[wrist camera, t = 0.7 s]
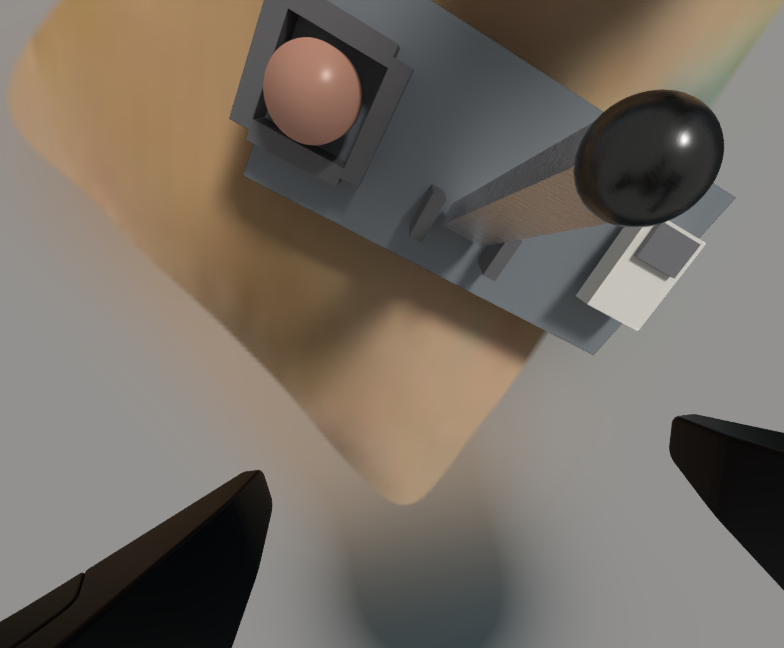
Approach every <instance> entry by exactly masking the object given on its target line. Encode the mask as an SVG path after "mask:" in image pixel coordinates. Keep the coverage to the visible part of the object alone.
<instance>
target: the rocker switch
mask: <svg viewBox="0 0 784 648" xmlns="http://www.w3.org/2000/svg"><path fill="white" fill-rule="evenodd" d="M705 244H706V243H705V242H703V241H702V240H700V239H698V238H697V237H695V236H693V235H692V234H690V233H688V232H687V231H685V230H684V229H682V228H680V227H679V226H677V225H675V224H674V223H672V222H670V221H667V222H664V223H661V224H658V225H654V226H650V227H642V228H628V227H624V228H623V229H622V230H621V232H620V233H619V235H618V236H617V238H616V239H615V240H614V242H613V243H612V245H611V246H610V248H609V249H608V250H607V252H606V253H605V255H604V256H603V257H602V259H601V260H600V262H599V263H598V265H597V266H596V267H595V269H594V270H593V272H592V273H591V275H590V276H589V277H588V279H587V280H586V282H585V283H584V285H583V286H582V287H581V289H580V290H579V292H578V293H577V295H576V297H578V298H579V299H581V300H582V301H583V302H585V303H586V304H588V305H590V306H592V307H593V308H595V309H597V310H599V311H601V312H603V313H604V314H606V315H608V316H610V317H612V318H614V319H616V320H617V321H619V322H621V323H623V324H625V325H627V326H629V327H630V328H632V329H634V330H636V331H638V330H639V329H640V328H641V327H642V325H643V324H644V323H645V321H646V320H647V319H648V318H649V316H650V315H651V314H652V313H653V311H654V310H655V309H656V307H657V306H658V305H659V304H660V302H661V301H662V300H663V299H664V297H665V296H666V295H667V293H668V292H669V291H670V289H671V288H672V287H673V285H674V284H675V283H676V282H677V281H678V279H679V278H680V277H681V275H682V274H683V273H684V272H685V270H686V269H687V268H688V266H689V265H690V264H691V263H692V261H693V260H694V258H695V257H696V256H697V255H698V254H699V252H700V251H701V250H702V248H703V247H704V246H705Z"/></svg>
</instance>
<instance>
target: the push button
mask: <svg viewBox="0 0 784 648" xmlns="http://www.w3.org/2000/svg"><path fill="white" fill-rule="evenodd" d="M263 92H264V99H265V103H266V106H267V109H268V112H269V114H270V116H271V118H272V119H273V121H274V123H275V124H276V125H277V126H278V128H279V129H280V130H281V131H282V132H283V133H284V134H286V135H287V136H288V137H290V138H291V139H293V140H295V141H297V142H299V143H302V144H306V145H323V144H327V143H329V142H332V141H334V140H336V139H338V138H340V137H341V136H343V135H344V134H346V133H347V132H348V131H349V130H350V129H351V128H352V127H353V125H354V124H355V123H356V121H357V119H358V117H359V114H360V111H361V107H362V100H363V92H362V85H361V81H360V78H359V75H358V72H357V70H356V68H355V67H354V65H353V64H352V62H351V61H350V60H349V59H348V57H347V56H346V55H344V54H343V53H342V52H341V51H339V50H338V49H336V48H335V47H333V46H332V45H330V44H328V43H326V42H324V41H322V40H319V39H316V38H311V37H302V38H296V39H293V40H290V41H288V42H286V43H285V44H283V45H282V46H280V47H279V48H278V49H277V50H276V51H275V53H274V54H273V55H272V57H271V58H270V60H269V62H268V64H267V67H266V70H265V74H264V80H263Z"/></svg>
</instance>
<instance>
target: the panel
mask: <svg viewBox="0 0 784 648" xmlns="http://www.w3.org/2000/svg"><path fill="white" fill-rule="evenodd" d="M302 37H311V38H316V39H319V40H322V41H324V42H326V43H328V44H330V45H332V46H333V47H335V48H336V49H338V50H339V51H341V52H342V53H343V54H344V55H346V56H347V57H348V59H349V60H350V61H351V62H352V64H353V65H354V67H355V68H356V70H357V72H358V75H359V78H360V81H361V85H362V92H363V100H362V107H361V111H360V114H359V117H358V119H357V121H356V123H355V124H354V125H353V127H352V128H351V129H350V130H349V131H348V132H347V133H346V134H344V135H343V136H341V137H340V138H338V139H336V140H334V141H332V142H329V143H327V144H323V145H306V144H302V143H299V142H297V141H295V140H293V139H291V138H290V137H288V136H287V135H286V134H284V133H283V132H282V131H281V130H280V129H279V128H278V126H277V125H276V124H275V123H274V121H273V119H272V118H271V116H270V114H269V112H268V109H267V106H266V103H265V99H264V92H263V80H264V74H265V70H266V67H267V64H268V62H269V60H270V58H271V57H272V55H273V54H274V53H275V51H276V50H277V49H278V48H279V47H280V46H282V45H283V44H285V43H286V42H288V41H290V40H293V39H296V38H302ZM602 113H603V111H601V110H600V109H598V108H597V107H595V106H594V105H592V104H591V103H589V102H587V101H586V100H584V99H583V98H581V97H580V96H578V95H577V94H575V93H574V92H572V91H570V90H569V89H567V88H566V87H564V86H563V85H561V84H560V83H558V82H557V81H555V80H553V79H552V78H550V77H549V76H547V75H546V74H544V73H543V72H541V71H540V70H538V69H536V68H535V67H533V66H532V65H530V64H529V63H527V62H526V61H524V60H523V59H521V58H519V57H518V56H516V55H515V54H513V53H512V52H510V51H509V50H507V49H506V48H504V47H502V46H501V45H499V44H498V43H496V42H495V41H493V40H492V39H490V38H489V37H487V36H485V35H484V34H482V33H481V32H479V31H478V30H476V29H475V28H473V27H472V26H470V25H468V24H467V23H465V22H464V21H462V20H461V19H459V18H458V17H456V16H454V15H453V14H451V13H450V12H448V11H447V10H445V9H444V8H442V7H441V6H439V5H437V4H436V3H434V2H433V1H431V0H264V2H263V5H262V9H261V12H260V15H259V19H258V22H257V26H256V29H255V32H254V36H253V39H252V43H251V46H250V49H249V53H248V56H247V60H246V63H245V66H244V70H243V73H242V77H241V80H240V83H239V87H238V90H237V94H236V97H235V100H234V104H233V107H232V111H231V114H230V118H229V119H230V120H232V121H234V122H236V123H238V124H240V125H242V126H243V127H245V128H247V129H249V132H248V135H247V138H246V140H247V141H249V142H251V143H253V147H252V150H251V153H250V156H249V159H248V163H247V166H246V169H245V172H244V175H243V176H245V177H247V178H249V179H251V180H253V181H255V182H257V183H259V184H261V185H263V186H265V187H267V188H269V189H270V190H272V191H274V192H276V193H278V194H280V195H282V196H284V197H286V198H288V199H290V200H292V201H294V202H296V203H298V204H300V205H302V206H304V207H306V208H307V209H309V210H311V211H313V212H315V213H317V214H319V215H321V216H323V217H325V218H327V219H329V220H331V221H333V222H335V223H337V224H339V225H341V226H343V227H344V228H346V229H348V230H350V231H352V232H354V233H356V234H358V235H360V236H362V237H364V238H366V239H368V240H370V241H372V242H374V243H376V244H378V245H379V246H381V247H383V248H385V249H387V250H389V251H391V252H393V253H395V254H397V255H399V256H401V257H403V258H405V259H407V260H409V261H411V262H413V263H415V264H416V265H418V266H420V267H422V268H424V269H426V270H428V271H430V272H432V273H434V274H436V275H438V276H440V277H442V278H444V279H446V280H448V281H450V282H452V283H453V284H455V285H457V286H459V287H461V288H463V289H465V290H467V291H469V292H471V293H473V294H475V295H477V296H479V297H481V298H483V299H485V300H487V301H489V302H490V303H492V304H494V305H496V306H498V307H500V308H502V309H504V310H506V311H508V312H510V313H512V314H514V315H516V316H518V317H520V318H522V319H524V320H525V321H527V322H529V323H531V324H533V325H535V326H537V327H539V328H541V329H543V330H545V331H547V332H549V333H551V334H553V335H555V336H557V337H559V338H561V339H562V340H564V341H566V342H568V343H570V344H572V345H574V346H576V347H578V348H580V349H582V350H584V351H586V352H588V353H590V354H592V355H594V354H595V353H596V352H597V351H598V350H599V349H600V348H601V346H602V345H603V344H604V343H605V342H606V341H607V340H608V339H609V338H610V337H611V335H612V334H613V333H614V332H615V331H616V330H617V329H618V328H619V327H620V325H621V324H622V323H621V322H619V321H617V320H616V319H614V318H612V317H610V316H608V315H606V314H604V313H603V312H601V311H599V310H597V309H595V308H593V307H592V306H590V305H588V304H586V303H585V302H583V301H582V300H581V299H579V298H578V297H576V295H577V293H578V292H579V290H580V289H581V287H582V286H583V285H584V283H585V282H586V280H587V279H588V277H589V276H590V275H591V273H592V272H593V270H594V269H595V267H596V266H597V265H598V263H599V262H600V260H601V259H602V257H603V256H604V255H605V253H606V252H607V250H608V249H609V248H610V246H611V245H612V243H613V242H614V240H615V239H616V238H617V236H618V235H619V233H620V232H621V230H622V229H623V228H624V227H621V226H616V225H613V224H610V223H607V224H602V225H596V226H591V227H585V228H580V229H574V230H569V231H563V232H558V233H552V234H547V235H541V236H536V237H530V238H525V239H519V240H514V241H508V242H503V243H497V244H492V245H487V246H480V245H478V244H476V243H474V242H472V241H471V240H469V239H467V238H465V237H463V236H461V235H459V234H458V233H456V232H454V231H452V230H450V229H448V228H446V227H445V226H443V225H442V223H443V221H444V219H445V217H446V215H447V213H448V211H449V209H450V207H451V205H452V203H454V202H456V201H458V200H459V199H461V198H463V197H464V196H466V195H468V194H470V193H471V192H473V191H475V190H477V189H478V188H480V187H482V186H484V185H485V184H487V183H489V182H490V181H492V180H494V179H496V178H497V177H499V176H501V175H503V174H504V173H506V172H508V171H509V170H511V169H513V168H515V167H516V166H518V165H520V164H522V163H523V162H525V161H527V160H528V159H530V158H532V157H534V156H535V155H537V154H539V153H541V152H542V151H544V150H546V149H548V148H549V147H551V146H553V145H554V144H556V143H558V142H560V141H561V140H563V139H565V138H567V137H568V136H570V135H572V134H573V133H575V132H577V131H579V130H580V129H582V128H584V127H586V126H587V125H589V124H591V123H593V122H594V121H595V120H596V119H597V118H598V117H599V116H600V115H601V114H602ZM735 198H736V197H734V196H733V195H731V194H730V193H728V192H727V191H725V190H723V189H722V188H720V187H719V186H717V185H716V184H714V183H713V184H712V186H711V187H710V188H709V190H708V191H707V192H706V194H705V195H704V196H703V197H702V198H701V199H700V200H699V201H698V202H697V203H696V204H695V205H694V206H692V207H691V208H690V209H689V210H687V211H686V212H684V213H683V214H681V215H679V216H678V217H676V218H674V219H671V220H669V221H670V222H672V223H674V224H675V225H677V226H679V227H680V228H682V229H684V230H685V231H687V232H688V233H690V234H692V235H693V236H695V237H697V238H698V239H699V238H700V237H701V236H702V235H703V234H704V233H705V231H706V230H707V229H708V228H709V227H710V226H711V225H712V224H713V223H714V222H715V220H716V219H717V218H718V217H719V216H720V215H721V214H722V213H723V211H724V210H725V209H726V208H727V207H728V206H729V205H730V204H731V203H732V202H733V200H734V199H735Z"/></svg>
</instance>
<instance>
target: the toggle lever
mask: <svg viewBox="0 0 784 648" xmlns="http://www.w3.org/2000/svg"><path fill="white" fill-rule="evenodd" d="M723 155H724V139H723V132H722V129H721V126H720V123H719V121H718V119H717V118H716V116H715V114H714V113H713V112H712V110H711V109H710V108H709V107H708V106H707V105H706V104H704V103H703V102H702V101H701V100H699V99H697V98H696V97H694V96H691V95H689V94H686V93H684V92H680V91H674V90H651V91H646V92H641V93H638V94H634V95H632V96H629V97H627V98H625V99H623V100H621V101H619V102H617V103H616V104H614V105H612V106H611V107H610V108H608V109H607V110H606V111H604V112H603V113H602V114H601V115H600V116H599V117H598V118H597V119H596V120H595V121H594V122H593V123H591V124H589V125H587V126H586V127H584V128H582V129H580V130H579V131H577V132H575V133H573V134H572V135H570V136H568V137H567V138H565V139H563V140H561V141H560V142H558V143H556V144H554V145H553V146H551V147H549V148H548V149H546V150H544V151H542V152H541V153H539V154H537V155H535V156H534V157H532V158H530V159H528V160H527V161H525V162H523V163H522V164H520V165H518V166H516V167H515V168H513V169H511V170H509V171H508V172H506V173H504V174H503V175H501V176H499V177H497V178H496V179H494V180H492V181H490V182H489V183H487V184H485V185H484V186H482V187H480V188H478V189H477V190H475V191H473V192H471V193H470V194H468V195H466V196H464V197H463V198H461V199H459V200H458V201H456V202H454V203H452V205H451V207H450V209H449V211H448V213H447V215H446V217H445V219H444V221H443V223H442V225H443V226H445V227H446V228H448V229H450V230H452V231H454V232H456V233H458V234H459V235H461V236H463V237H465V238H467V239H469V240H471V241H472V242H474V243H476V244H478V245H480V246H487V245H492V244H497V243H503V242H508V241H514V240H519V239H525V238H530V237H536V236H541V235H547V234H552V233H558V232H563V231H569V230H574V229H580V228H585V227H591V226H596V225H602V224H607V223H610V224H613V225H616V226H621V227H628V228H642V227H650V226H654V225H658V224H661V223H664V222H667V221H669V220H671V219H674V218H676V217H678V216H679V215H681V214H683V213H684V212H686V211H687V210H689V209H690V208H691V207H692V206H694V205H695V204H696V203H697V202H698V201H699V200H700V199H701V198H702V197H703V196H704V195H705V194H706V192H707V191H708V190H709V188H710V187H711V186H712V184H713V182H714V181H715V179H716V177H717V175H718V172H719V170H720V167H721V163H722V160H723Z"/></svg>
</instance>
